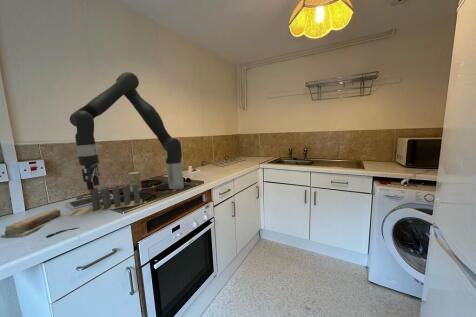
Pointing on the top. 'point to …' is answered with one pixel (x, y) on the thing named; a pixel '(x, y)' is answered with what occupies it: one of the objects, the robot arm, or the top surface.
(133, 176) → the skincare box
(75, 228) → the chef's knife
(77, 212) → the oak board
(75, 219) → the top surface
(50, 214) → the packaged product
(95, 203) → the domino
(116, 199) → the domino
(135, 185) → the domino
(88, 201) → the picture frame
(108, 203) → the domino
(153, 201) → the top surface
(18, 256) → the top surface
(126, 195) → the domino
